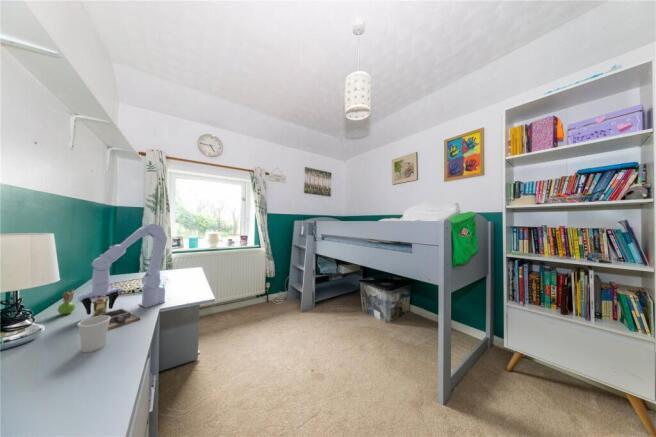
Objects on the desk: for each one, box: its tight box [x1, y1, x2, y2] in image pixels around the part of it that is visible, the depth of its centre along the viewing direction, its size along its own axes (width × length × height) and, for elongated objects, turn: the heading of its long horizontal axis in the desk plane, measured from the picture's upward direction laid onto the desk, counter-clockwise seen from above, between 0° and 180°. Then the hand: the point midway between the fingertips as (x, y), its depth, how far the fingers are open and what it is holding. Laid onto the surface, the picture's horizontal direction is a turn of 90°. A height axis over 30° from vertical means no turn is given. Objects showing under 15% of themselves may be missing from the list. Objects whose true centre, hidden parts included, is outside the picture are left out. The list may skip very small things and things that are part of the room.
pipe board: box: [97, 307, 141, 330], centre depth 102 cm, size 12×16×3 cm
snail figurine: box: [57, 288, 76, 315], centre depth 107 cm, size 5×6×12 cm
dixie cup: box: [76, 315, 111, 353], centre depth 81 cm, size 8×8×10 cm
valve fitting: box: [91, 297, 109, 317], centre depth 107 cm, size 5×5×8 cm
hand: (99, 311), depth 107 cm, fingers open, 7 cm apart
